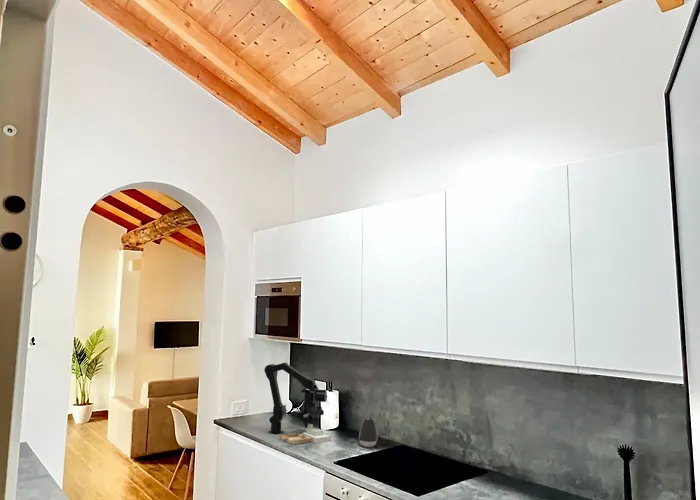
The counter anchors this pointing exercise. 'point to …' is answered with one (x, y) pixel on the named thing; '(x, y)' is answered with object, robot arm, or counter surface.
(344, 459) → the counter surface
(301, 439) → the tray
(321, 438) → the housing
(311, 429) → the caddy
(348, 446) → the counter surface
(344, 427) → the counter surface
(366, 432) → the egg shaped speaker
